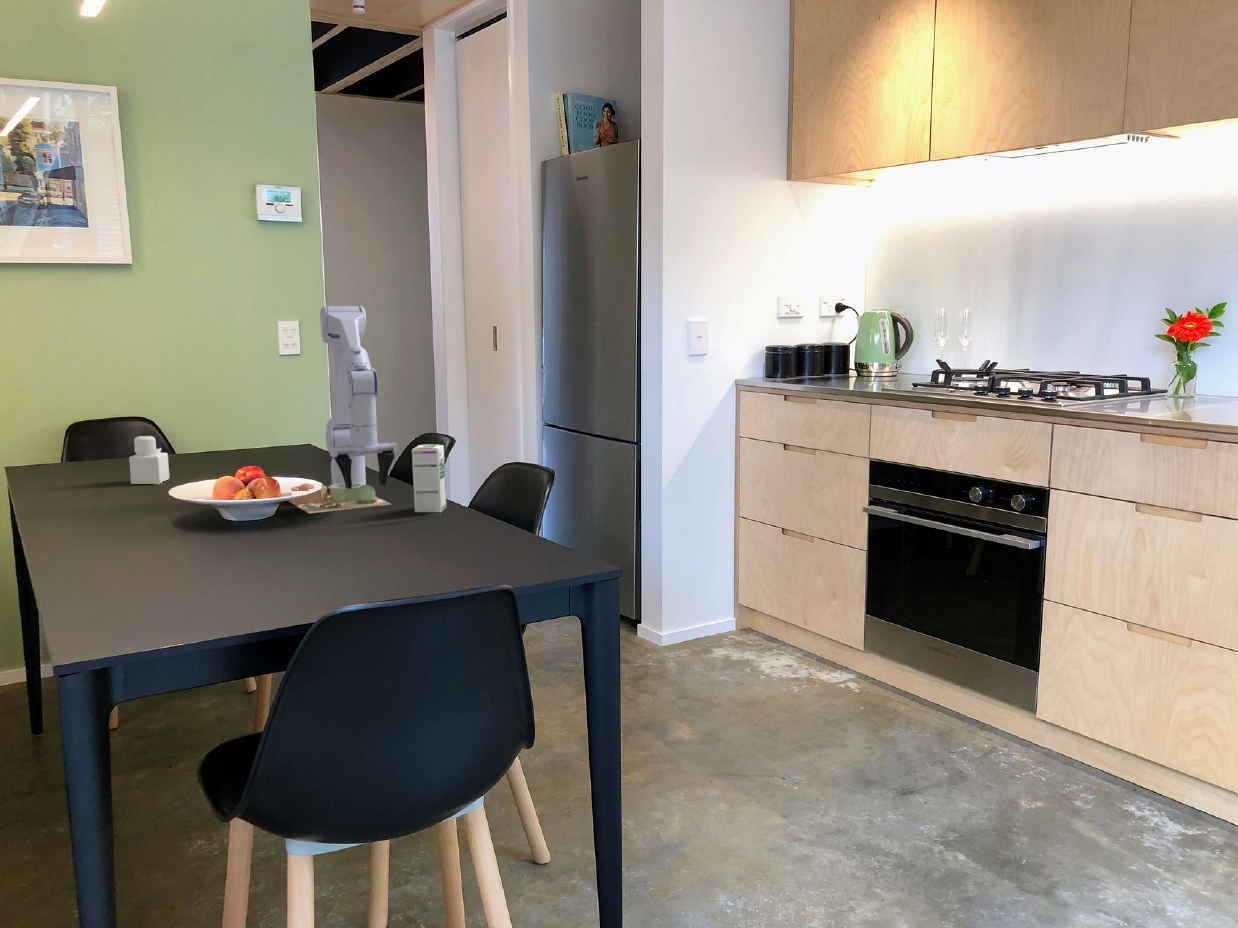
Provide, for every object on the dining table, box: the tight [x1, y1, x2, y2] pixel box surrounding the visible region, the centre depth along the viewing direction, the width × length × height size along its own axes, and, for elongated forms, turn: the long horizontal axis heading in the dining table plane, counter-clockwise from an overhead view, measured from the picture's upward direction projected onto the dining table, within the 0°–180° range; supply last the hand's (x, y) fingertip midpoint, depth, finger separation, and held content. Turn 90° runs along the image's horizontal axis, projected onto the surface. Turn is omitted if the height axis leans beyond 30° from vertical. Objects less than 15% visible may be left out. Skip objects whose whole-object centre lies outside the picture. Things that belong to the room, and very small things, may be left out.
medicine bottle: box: [128, 434, 170, 485], centre depth 246 cm, size 7×7×12 cm
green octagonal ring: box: [329, 483, 364, 502], centre depth 220 cm, size 7×7×3 cm
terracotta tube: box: [290, 484, 329, 504], centre depth 217 cm, size 7×7×3 cm
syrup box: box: [411, 443, 447, 516], centre depth 206 cm, size 6×6×14 cm
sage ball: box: [357, 484, 376, 502], centre depth 215 cm, size 4×4×4 cm
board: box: [288, 495, 392, 514], centre depth 216 cm, size 18×18×1 cm
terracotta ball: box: [298, 482, 314, 490], centre depth 216 cm, size 4×4×4 cm
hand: (365, 486), depth 214 cm, fingers open, 7 cm apart
